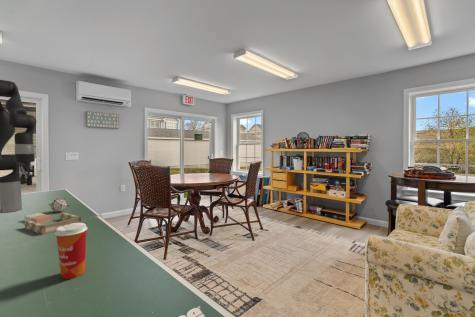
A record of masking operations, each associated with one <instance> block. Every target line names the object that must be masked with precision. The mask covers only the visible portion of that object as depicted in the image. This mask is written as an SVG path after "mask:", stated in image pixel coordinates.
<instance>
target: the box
mask: <svg viewBox="0 0 475 317" xmlns="http://www.w3.org/2000/svg"><path fill="white" fill-rule="evenodd" d="M61 212H62V211H61ZM61 212H59V219H60V221H56V222H51V223H48V224H39V223H36V222H33V221H30V220H25V219H24V229H26V230H28V231H32V232H35V233H37V234H40V235H46V234H50V233H53V232H56V230H57V228H58V227H60V226H64V225H67V224H68V225H69V224H72V223H82V216H79V215H75V214H70V213H67V212H62V213H61Z"/></svg>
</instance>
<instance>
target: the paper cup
mask: <svg viewBox="0 0 475 317" xmlns="http://www.w3.org/2000/svg"><path fill="white" fill-rule="evenodd" d="M87 230H88V227H87V225H86V223H84V222H81V223H72V224H69V225H68V224H67V225H64V226H60V227H58V228H57V230H56V231H54V232H55V233H54V235H55V236H56V244H57V245H56V246H57V252H58V261H59V267H60V275H61V278H62V279H63V280H72V279H75V278H78V277H81V276H83V275H84V274H85V271H86V256H87V255H86V254H87V252H86V251H87V248H86V247H87Z"/></svg>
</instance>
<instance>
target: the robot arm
mask: <svg viewBox="0 0 475 317" xmlns="http://www.w3.org/2000/svg"><path fill="white" fill-rule="evenodd" d="M20 94H21V93H20V91H19V88H18V85H17V84H16V83H15V82H13V81H11V80H4V79H0V97H3V98H9V99H8V100H7V101H6V102H5V107H4V105H3V103H2V102H1V100H0V171H11V172H10V173H8V174H6V175H1V176H0V213H12V212H18V211H20V210H22V209H23V205H22V203H23V202H22V200H23V199H22V188H21V187H22V186H21V185H26V186H33V178H34V177H35V165H33V164H32V163H34V162H35V159H36V158H35V147H34V132H35V130H36V129H35V128H36V126H37V119H36V117H35V116H34V115H32V114H28V112H27V110H26V108H25V106H24V105H23V102H22V99H21V95H20ZM18 128H19V129H26V130H25V131H21V132H16V129H18ZM13 136H14V154H13V153H12V154H9V153H8V154H5V153H4V154H3V152H2V151H3V149H4V148H5V146H6V145H7V143H8V142H9V141H10V140H11V138H12V137H13Z"/></svg>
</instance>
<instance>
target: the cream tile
mask: <svg viewBox="0 0 475 317" xmlns="http://www.w3.org/2000/svg"><path fill="white" fill-rule="evenodd" d="M41 215H46V214H45V213H41V212H36V213H31V214H26V215H24V221H25V220H30V221H31V218H32V217H36V216H41Z"/></svg>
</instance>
